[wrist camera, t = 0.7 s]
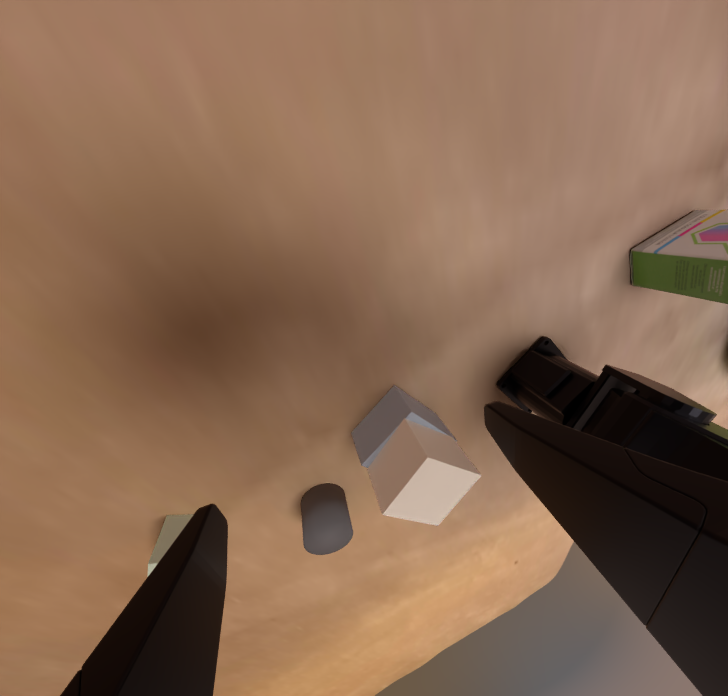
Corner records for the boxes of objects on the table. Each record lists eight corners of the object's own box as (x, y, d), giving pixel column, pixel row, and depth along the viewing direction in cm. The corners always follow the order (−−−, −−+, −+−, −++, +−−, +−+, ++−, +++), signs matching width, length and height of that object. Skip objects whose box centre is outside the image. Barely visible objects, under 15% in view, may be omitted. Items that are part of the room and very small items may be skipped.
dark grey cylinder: (353, 490, 29) (362, 528, 26) (326, 518, 30) (332, 558, 27) (319, 477, 27) (324, 516, 24) (291, 507, 28) (293, 549, 25)
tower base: (435, 412, 28) (457, 440, 24) (394, 454, 29) (410, 487, 25) (393, 384, 25) (411, 411, 22) (350, 431, 26) (361, 465, 23)
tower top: (452, 437, 24) (481, 475, 20) (416, 482, 25) (437, 525, 22) (404, 418, 22) (427, 457, 18) (367, 469, 23) (382, 514, 19)
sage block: (217, 512, 26) (207, 558, 23) (213, 541, 27) (203, 589, 24) (167, 514, 25) (148, 563, 21) (165, 544, 26) (147, 595, 23)
